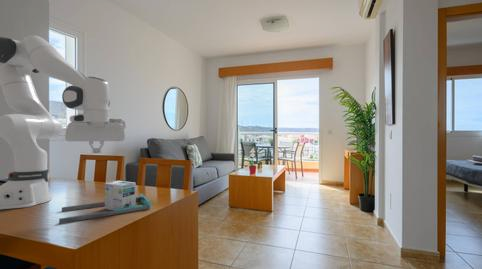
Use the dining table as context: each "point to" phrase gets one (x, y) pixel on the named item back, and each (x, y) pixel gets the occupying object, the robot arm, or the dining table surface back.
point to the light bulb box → (120, 194)
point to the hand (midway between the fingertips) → (96, 152)
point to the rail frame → (101, 214)
